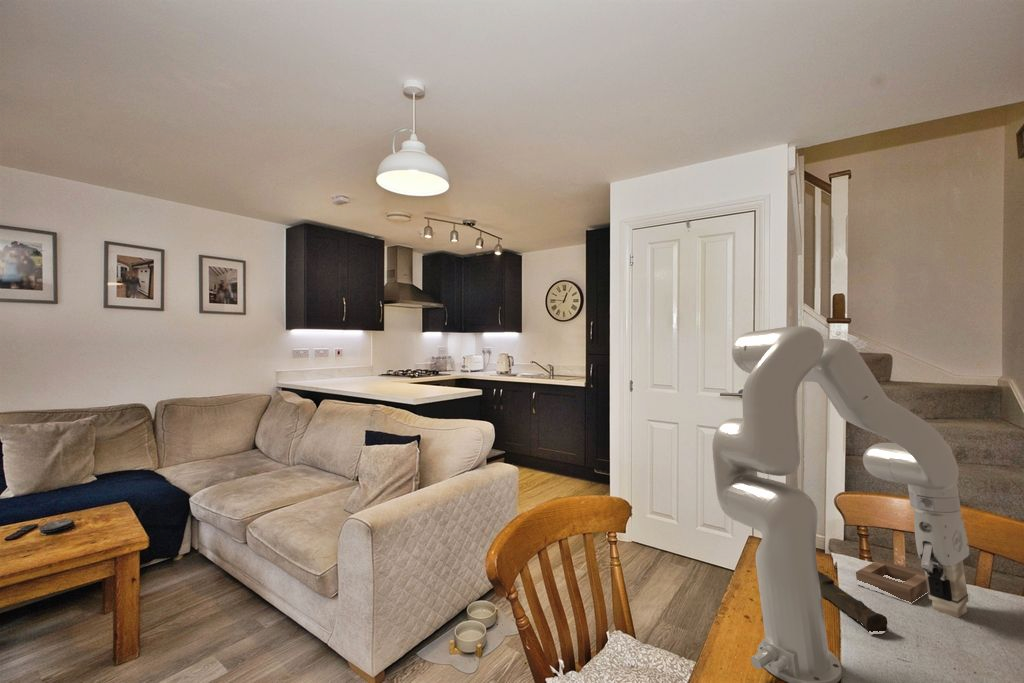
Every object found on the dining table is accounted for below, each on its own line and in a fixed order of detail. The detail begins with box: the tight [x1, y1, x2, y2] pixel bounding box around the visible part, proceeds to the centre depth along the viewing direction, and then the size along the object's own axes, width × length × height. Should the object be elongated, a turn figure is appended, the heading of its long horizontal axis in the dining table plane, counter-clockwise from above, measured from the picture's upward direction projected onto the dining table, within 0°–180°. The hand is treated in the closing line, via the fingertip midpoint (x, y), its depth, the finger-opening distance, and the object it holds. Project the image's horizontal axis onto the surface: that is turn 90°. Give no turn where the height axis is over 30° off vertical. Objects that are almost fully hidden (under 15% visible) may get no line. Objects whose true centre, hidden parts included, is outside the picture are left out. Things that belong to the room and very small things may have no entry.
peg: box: [924, 558, 969, 619], centre depth 91 cm, size 5×5×12 cm
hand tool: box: [818, 571, 888, 633], centre depth 95 cm, size 19×4×5 cm, turn 178°
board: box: [855, 559, 928, 603], centre depth 100 cm, size 10×10×3 cm
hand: (947, 592), depth 91 cm, fingers closed on peg, 4 cm apart
